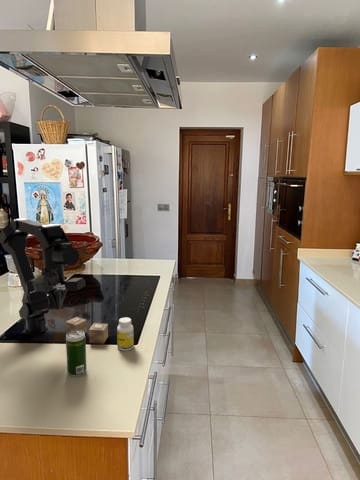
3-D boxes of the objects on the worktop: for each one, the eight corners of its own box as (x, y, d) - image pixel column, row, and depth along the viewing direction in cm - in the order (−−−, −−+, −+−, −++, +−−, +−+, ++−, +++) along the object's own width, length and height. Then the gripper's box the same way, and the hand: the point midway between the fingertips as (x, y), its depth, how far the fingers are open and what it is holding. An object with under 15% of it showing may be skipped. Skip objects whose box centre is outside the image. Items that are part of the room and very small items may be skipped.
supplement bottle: (114, 346, 113) (113, 319, 111) (127, 341, 117) (127, 314, 115) (123, 353, 110) (123, 324, 108) (136, 347, 113) (136, 319, 111)
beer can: (90, 371, 99) (88, 333, 96) (73, 379, 95) (71, 340, 93) (80, 364, 102) (78, 327, 100) (63, 372, 99) (61, 333, 96)
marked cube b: (66, 334, 121) (65, 321, 120) (77, 329, 125) (76, 316, 125) (76, 338, 119) (75, 324, 118) (86, 332, 123) (86, 319, 122)
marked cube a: (89, 343, 116) (89, 328, 115) (94, 336, 121) (93, 322, 120) (103, 343, 115) (103, 329, 114) (108, 337, 120) (107, 323, 119)
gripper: (11, 268, 104) (17, 317, 106) (64, 268, 99) (70, 319, 102) (35, 261, 115) (40, 305, 117) (84, 260, 110) (88, 306, 112)
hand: (58, 309), depth 112 cm, fingers closed
